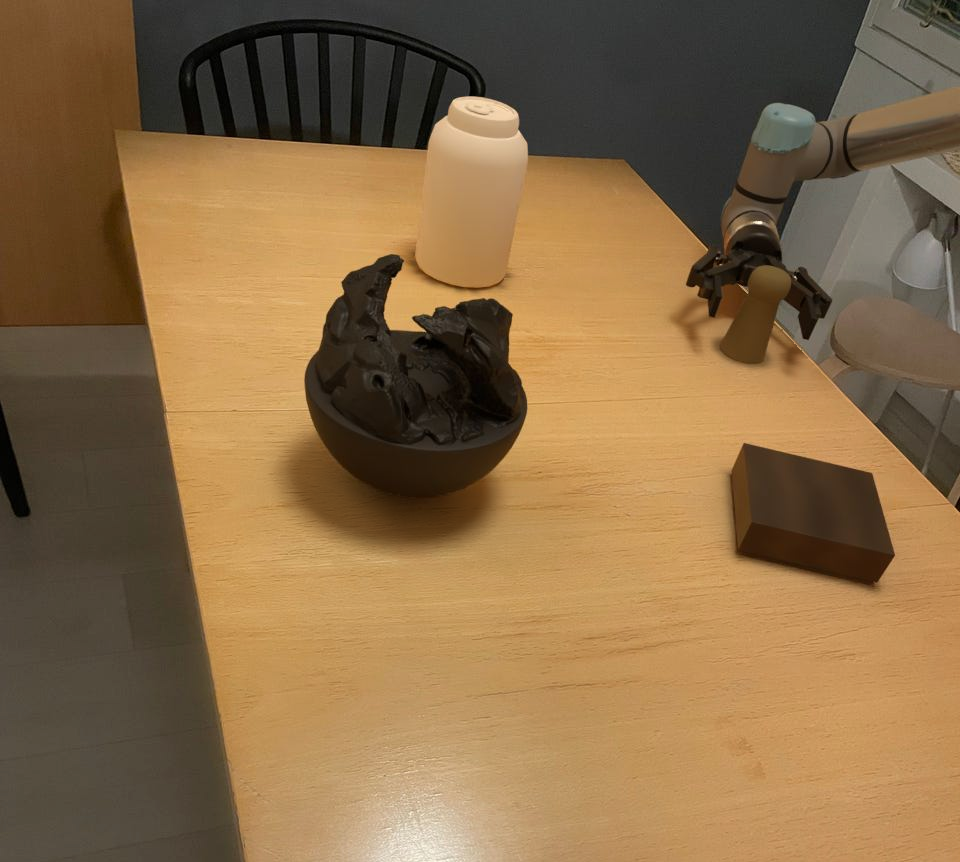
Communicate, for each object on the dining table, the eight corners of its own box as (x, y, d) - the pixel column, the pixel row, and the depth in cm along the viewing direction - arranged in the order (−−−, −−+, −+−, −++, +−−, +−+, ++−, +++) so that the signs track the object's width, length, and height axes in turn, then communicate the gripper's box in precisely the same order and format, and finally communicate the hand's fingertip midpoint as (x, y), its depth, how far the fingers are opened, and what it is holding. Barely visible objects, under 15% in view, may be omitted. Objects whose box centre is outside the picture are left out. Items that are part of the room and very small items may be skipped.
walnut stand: (855, 502, 98) (872, 472, 95) (875, 586, 88) (895, 555, 86) (729, 473, 98) (743, 442, 95) (736, 553, 88) (751, 521, 85)
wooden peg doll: (711, 341, 120) (741, 259, 112) (747, 339, 122) (779, 258, 115) (736, 364, 116) (769, 282, 109) (773, 362, 119) (808, 281, 111)
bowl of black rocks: (523, 548, 83) (572, 362, 70) (301, 539, 79) (309, 340, 66) (491, 425, 97) (526, 250, 84) (300, 412, 92) (306, 226, 79)
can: (454, 297, 116) (480, 127, 102) (395, 255, 122) (412, 89, 108) (524, 281, 123) (557, 120, 109) (465, 242, 129) (490, 85, 115)
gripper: (822, 295, 130) (842, 367, 115) (662, 257, 130) (660, 324, 115) (845, 243, 125) (870, 311, 110) (678, 204, 125) (679, 266, 109)
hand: (762, 318), depth 112 cm, fingers open, 11 cm apart
